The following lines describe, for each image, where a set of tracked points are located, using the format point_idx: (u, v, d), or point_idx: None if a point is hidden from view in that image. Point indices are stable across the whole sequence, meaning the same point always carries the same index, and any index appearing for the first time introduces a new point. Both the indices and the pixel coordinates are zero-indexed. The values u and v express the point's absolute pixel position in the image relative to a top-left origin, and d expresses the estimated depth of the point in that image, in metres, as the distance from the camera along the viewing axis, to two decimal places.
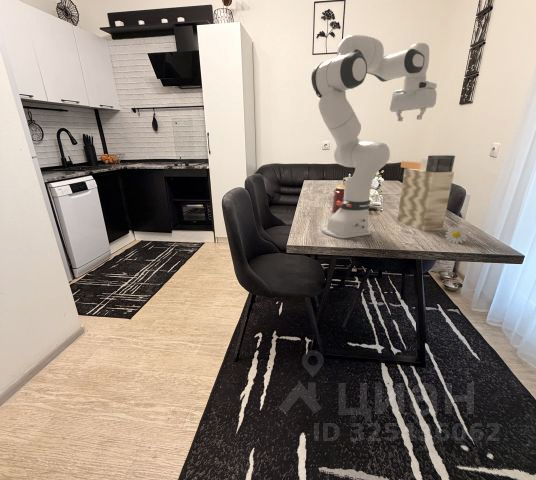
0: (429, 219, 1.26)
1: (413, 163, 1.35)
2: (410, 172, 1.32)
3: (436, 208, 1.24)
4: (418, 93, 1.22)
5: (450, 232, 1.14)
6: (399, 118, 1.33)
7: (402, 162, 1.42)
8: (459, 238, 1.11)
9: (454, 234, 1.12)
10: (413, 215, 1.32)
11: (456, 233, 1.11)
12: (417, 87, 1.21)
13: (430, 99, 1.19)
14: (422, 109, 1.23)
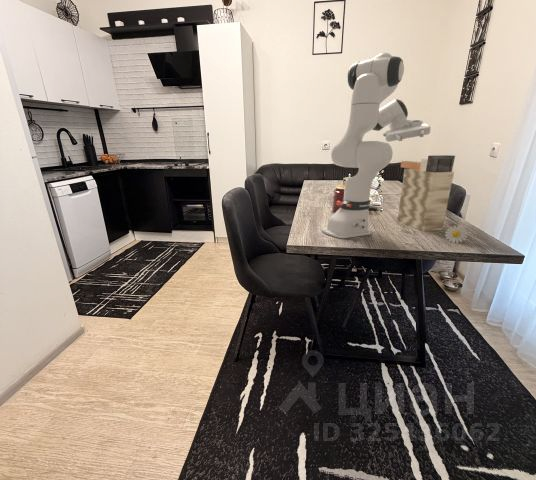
0: (429, 219, 1.26)
1: (413, 163, 1.35)
2: (410, 172, 1.32)
3: (436, 208, 1.24)
4: (413, 125, 1.41)
5: (450, 232, 1.15)
6: (400, 136, 1.36)
7: (402, 162, 1.42)
8: (459, 237, 1.12)
9: (454, 234, 1.13)
10: (413, 215, 1.32)
11: (456, 233, 1.12)
12: (412, 121, 1.42)
13: (427, 124, 1.37)
14: (422, 130, 1.36)
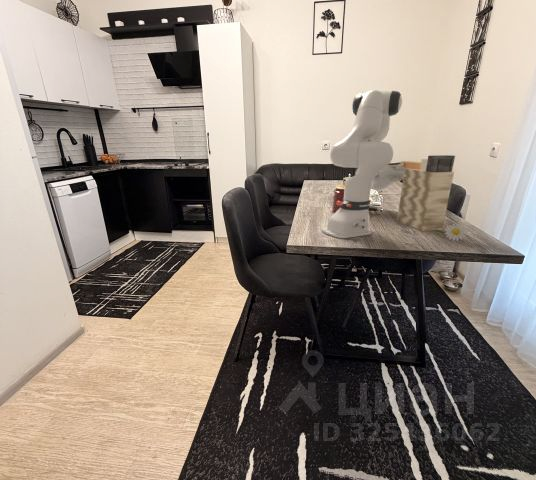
0: (429, 219, 1.26)
1: (413, 163, 1.35)
2: (410, 172, 1.32)
3: (436, 208, 1.24)
4: None
5: (449, 230, 1.17)
6: None
7: (402, 162, 1.42)
8: (459, 235, 1.15)
9: (454, 231, 1.15)
10: (413, 215, 1.32)
11: (456, 230, 1.14)
12: None
13: None
14: None
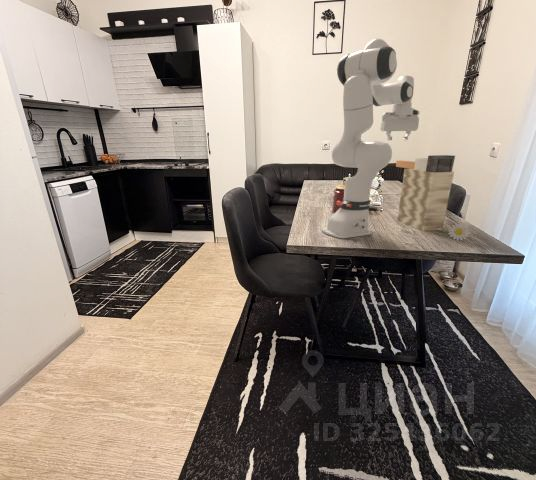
0: (429, 219, 1.26)
1: (408, 162, 1.38)
2: (410, 172, 1.32)
3: (436, 208, 1.24)
4: (409, 118, 1.46)
5: (452, 230, 1.17)
6: (391, 138, 1.49)
7: (397, 161, 1.46)
8: (462, 235, 1.15)
9: (458, 231, 1.15)
10: (413, 215, 1.32)
11: (460, 230, 1.15)
12: (412, 113, 1.44)
13: (418, 124, 1.48)
14: (410, 132, 1.49)
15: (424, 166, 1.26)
